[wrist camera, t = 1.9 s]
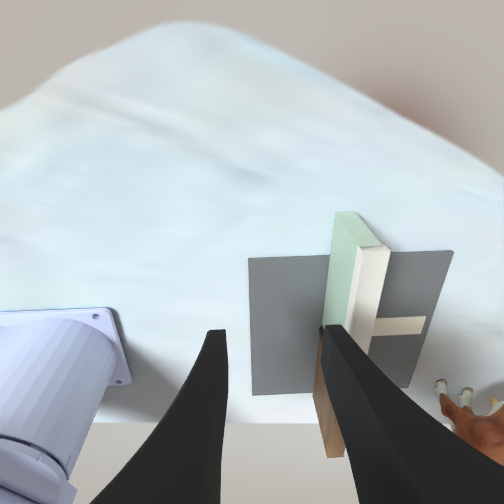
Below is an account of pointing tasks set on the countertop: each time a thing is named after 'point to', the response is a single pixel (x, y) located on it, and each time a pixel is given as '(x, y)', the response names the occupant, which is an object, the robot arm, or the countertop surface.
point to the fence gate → (354, 278)
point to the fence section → (326, 410)
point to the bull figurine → (475, 422)
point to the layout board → (311, 315)
